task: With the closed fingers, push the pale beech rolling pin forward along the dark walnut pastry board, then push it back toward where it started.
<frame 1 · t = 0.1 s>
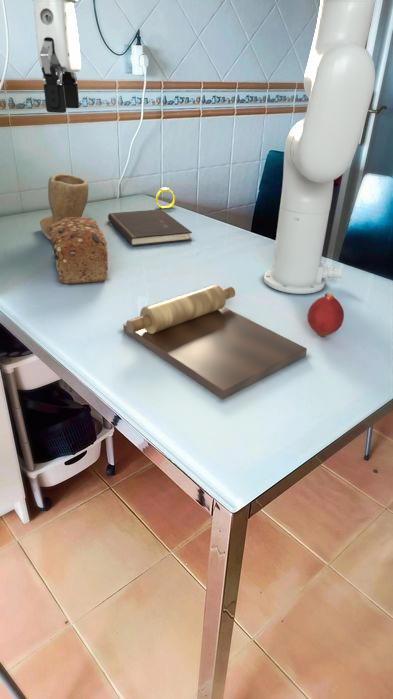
hand: (63, 109, 84), 31 cm above the table, tool pointing down, fingers open, 9 cm apart
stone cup: (67, 236, 123), on the table
onion: (321, 336, 81), on the table
pastry board: (211, 344, 77), on the table
hardcover book: (147, 231, 129), on the table
rolling pin: (184, 308, 80), point 4 cm above the table, slide at 0.0 cm
bread: (79, 269, 104), on the table
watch: (165, 208, 150), on the table
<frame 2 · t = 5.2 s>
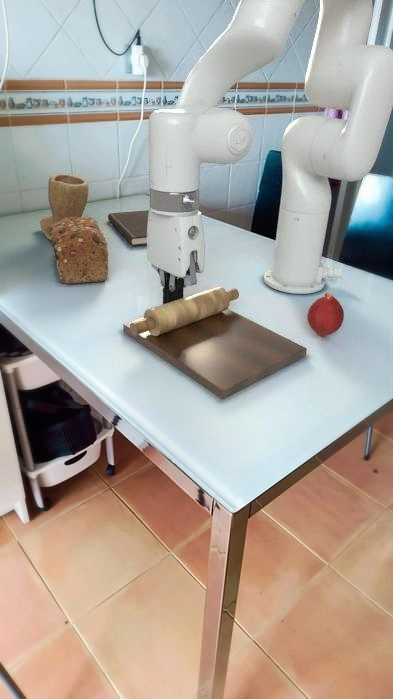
hand: (173, 308, 82), 3 cm above the table, tool pointing down, fingers closed
rolling pin: (188, 310, 79), point 4 cm above the table, slide at 1.0 cm, touching gripper
everything else where it was.
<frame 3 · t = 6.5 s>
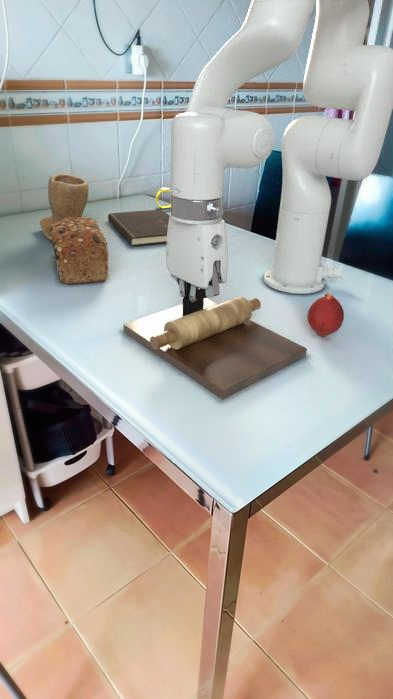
hand: (192, 319, 79), 3 cm above the table, tool pointing down, fingers closed
rolling pin: (209, 321, 76), point 4 cm above the table, slide at 6.2 cm, touching gripper
everything else where it was.
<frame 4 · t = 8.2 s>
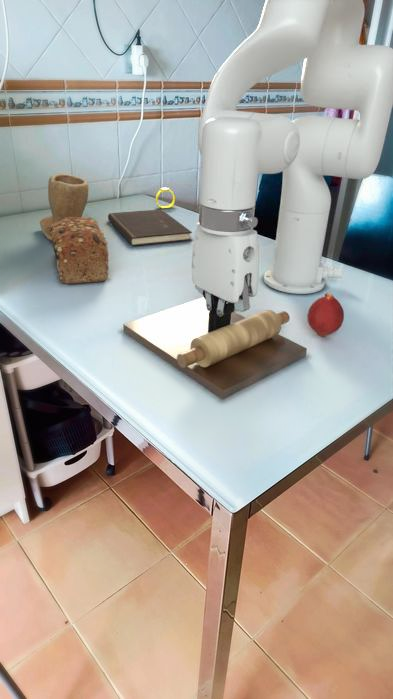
hand: (218, 334, 75), 3 cm above the table, tool pointing down, fingers closed
rolling pin: (237, 337, 72), point 4 cm above the table, slide at 12.5 cm, touching gripper
everything else where it was.
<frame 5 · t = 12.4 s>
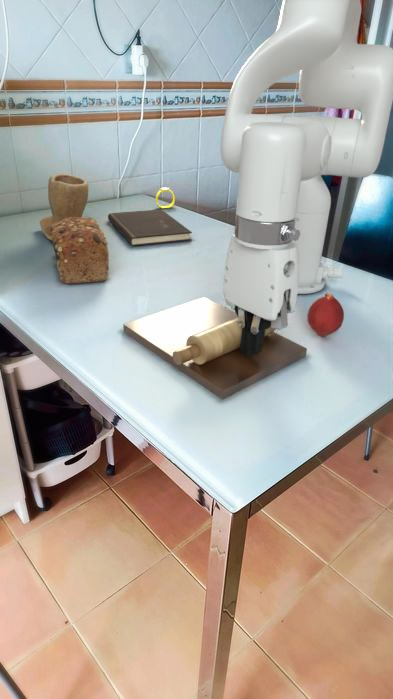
hand: (251, 351, 70), 3 cm above the table, tool pointing down, fingers closed
rolling pin: (233, 334, 72), point 4 cm above the table, slide at 11.6 cm
everything else where it was.
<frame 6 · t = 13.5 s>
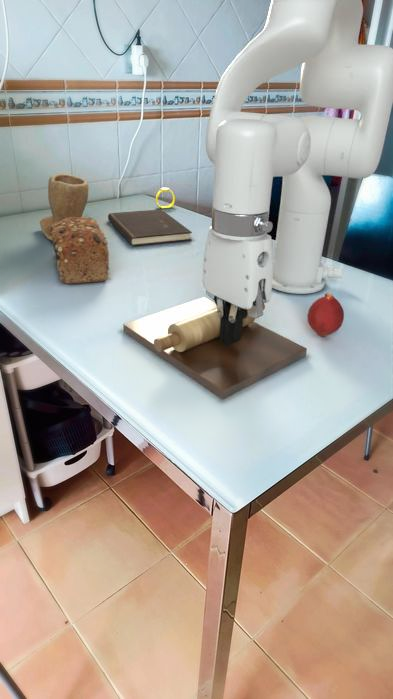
hand: (230, 340, 73), 3 cm above the table, tool pointing down, fingers closed
rolling pin: (213, 323, 75), point 4 cm above the table, slide at 7.1 cm, touching gripper
everything else where it was.
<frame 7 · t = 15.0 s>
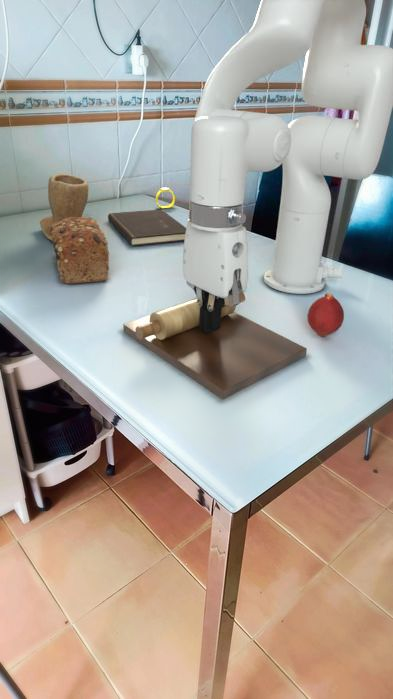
hand: (209, 329, 76), 3 cm above the table, tool pointing down, fingers closed
rolling pin: (194, 313, 78), point 4 cm above the table, slide at 2.5 cm, touching gripper
everything else where it was.
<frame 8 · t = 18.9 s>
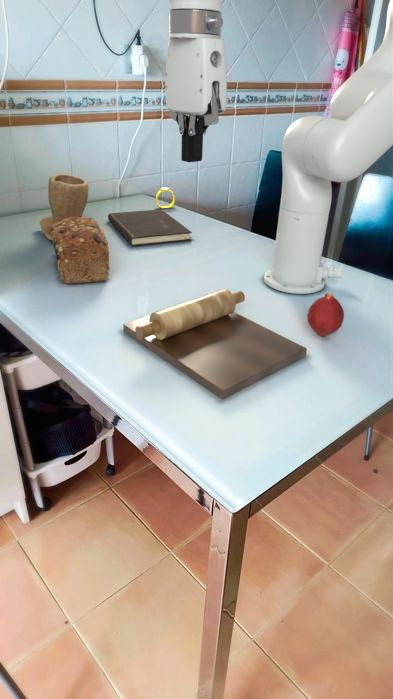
hand: (191, 160, 79), 25 cm above the table, tool pointing down, fingers closed
rolling pin: (194, 313, 78), point 4 cm above the table, slide at 2.4 cm
everything else where it was.
at the end: rolling pin pulled out 12.6 cm at the most during the clip, back to 2.4 cm at the end; rolling pin slide at 2.4 cm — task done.
